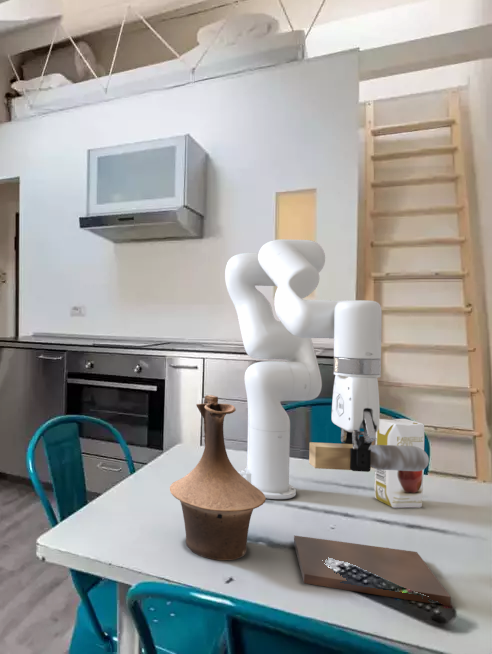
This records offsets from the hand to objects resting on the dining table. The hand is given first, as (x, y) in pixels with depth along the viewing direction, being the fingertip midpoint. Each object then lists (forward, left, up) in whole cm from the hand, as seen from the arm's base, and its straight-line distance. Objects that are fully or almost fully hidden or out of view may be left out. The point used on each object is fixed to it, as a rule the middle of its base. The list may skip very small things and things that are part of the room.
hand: (355, 466), depth 100 cm
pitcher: (-24, -7, -16) cm, 30 cm away
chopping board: (0, -8, -16) cm, 18 cm away
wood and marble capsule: (+2, 0, 0) cm, 3 cm away
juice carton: (+15, +32, -16) cm, 38 cm away
